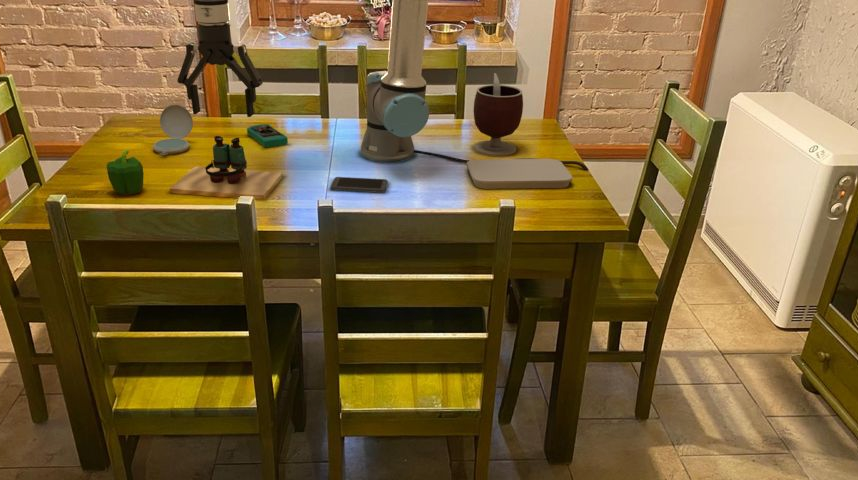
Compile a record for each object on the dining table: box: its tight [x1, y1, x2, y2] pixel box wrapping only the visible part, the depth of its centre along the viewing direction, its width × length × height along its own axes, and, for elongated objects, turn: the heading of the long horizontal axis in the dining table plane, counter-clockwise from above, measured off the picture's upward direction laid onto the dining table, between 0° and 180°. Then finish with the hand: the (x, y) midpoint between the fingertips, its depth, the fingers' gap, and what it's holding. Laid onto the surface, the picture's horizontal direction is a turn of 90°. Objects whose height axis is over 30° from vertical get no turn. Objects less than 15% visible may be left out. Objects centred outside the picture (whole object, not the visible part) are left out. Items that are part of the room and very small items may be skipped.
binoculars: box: [204, 135, 248, 184], centre depth 184 cm, size 9×11×10 cm
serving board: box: [169, 165, 284, 201], centre depth 186 cm, size 24×16×1 cm, turn 82°
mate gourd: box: [473, 72, 524, 157], centre depth 211 cm, size 16×14×20 cm
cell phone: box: [330, 176, 389, 193], centre depth 187 cm, size 7×14×1 cm, turn 85°
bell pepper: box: [106, 149, 145, 195], centre depth 179 cm, size 8×8×10 cm
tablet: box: [466, 158, 573, 190], centre depth 194 cm, size 16×26×2 cm, turn 94°
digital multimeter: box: [246, 123, 289, 149], centre depth 217 cm, size 7×15×3 cm, turn 32°
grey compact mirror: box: [152, 104, 194, 156], centre depth 207 cm, size 10×11×15 cm
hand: (223, 114), depth 178 cm, fingers open, 13 cm apart
